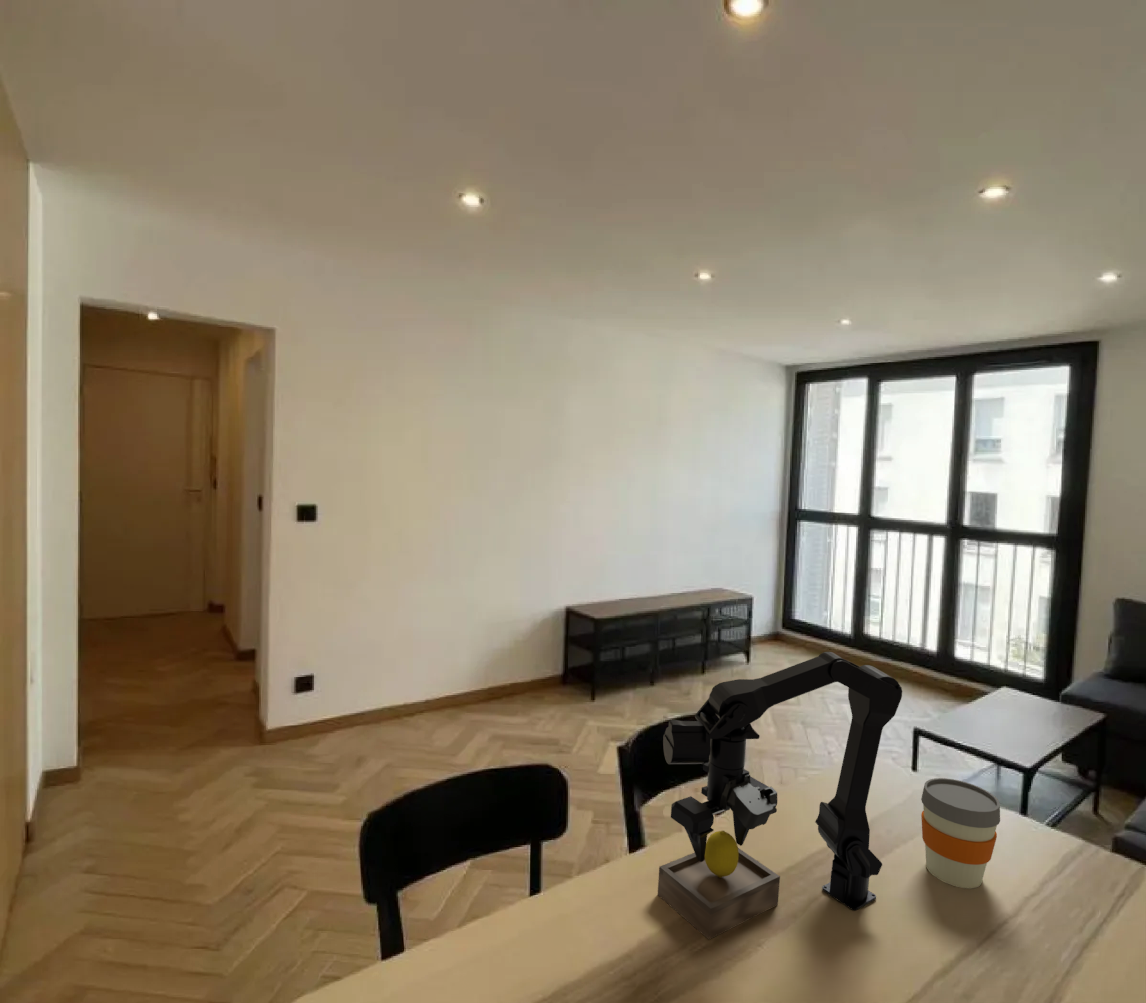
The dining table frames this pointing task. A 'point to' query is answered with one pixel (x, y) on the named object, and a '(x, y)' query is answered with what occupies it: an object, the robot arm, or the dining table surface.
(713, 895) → the wooden tray
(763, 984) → the dining table surface
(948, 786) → the reusable coffee cup
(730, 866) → the lemon
